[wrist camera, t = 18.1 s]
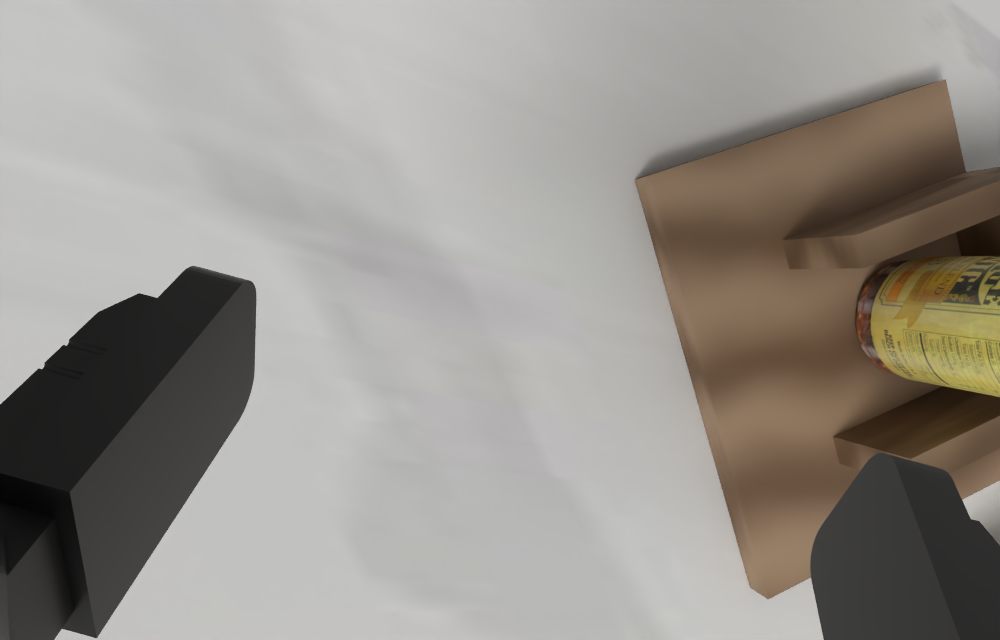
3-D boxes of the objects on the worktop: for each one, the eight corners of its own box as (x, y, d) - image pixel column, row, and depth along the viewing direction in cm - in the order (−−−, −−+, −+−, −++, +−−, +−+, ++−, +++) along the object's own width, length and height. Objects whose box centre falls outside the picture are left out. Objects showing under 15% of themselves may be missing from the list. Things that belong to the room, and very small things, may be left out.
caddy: (635, 179, 37) (709, 160, 31) (922, 86, 42) (1037, 52, 35) (750, 587, 40) (838, 644, 34) (1005, 458, 45) (1124, 488, 38)
